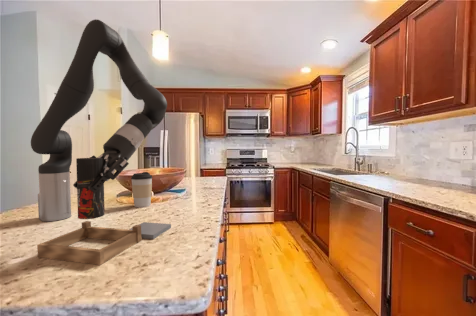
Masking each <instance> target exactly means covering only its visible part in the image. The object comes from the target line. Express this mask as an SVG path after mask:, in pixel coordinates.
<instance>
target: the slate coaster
mask: <svg viewBox="0 0 476 316" xmlns="http://www.w3.org/2000/svg"><path fill="white" fill-rule="evenodd" d="M138 225H141V239H147V240H155V239H156V238H158V237H159V236H160V235H162V234H164V233H165V232H167V231H168V230H170V229H171V228H172V224H171V223H163V222H162V223H160V222H159V223H158V222H148V221H147V222H146V221H143V222H141V223H138ZM128 230H132V228H130V229H129V228H128Z"/></svg>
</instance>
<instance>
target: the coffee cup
mask: <svg viewBox="0 0 476 316" xmlns="http://www.w3.org/2000/svg"><path fill="white" fill-rule="evenodd" d="M130 180H131V189H132V191H131V192H132V198H133V204H134V207H135V208H146V207H150V206H151V203H152V202H151V201H152V200H151V199H152V191H153V190H152V188H153V183H152V182H153V175H151V174H150V172H148V171H143V172H136V173H133V175H132V176H131V177H130Z"/></svg>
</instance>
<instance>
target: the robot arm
mask: <svg viewBox="0 0 476 316" xmlns="http://www.w3.org/2000/svg"><path fill="white" fill-rule="evenodd" d="M84 27H85V28H84V29H83V31H82V34H81V37H80V39H79V43H78V45H77V48H76V50H75V54H74V57H73V59H72V61H71V63H70V65H69V67H68V70H67V72H66V74H65V76H64V77H63V79H62V81H61V83H60V85H59V87H58V89H57V91H56V94H55V97H54V98H53V100H52V101H51V104H50V106H49V107H48V109H47V111H46V113H45V114H44V116H43V117H42V119H41V120H40V122H39V123H38V125H37V127H36V128H35V130H34V132H32V135H31V138H30V148H31V150H32V151H33V152H34V153H36V154H39V155H49V158H48V160H47V161H46V162H44V163H42V164H40V165H39V166H38V169H37V170H38V171H37V172H38V188H39V189H38V190H39V193H38V194H37V207H38V209H37V211H38V220H40V221H41V222H55V221H60V220H65V219H68V218H71V217H72V199H71V198H72V197H71V196H72V195H71V194H72V193H71V177H70V176H71V175H70V172H71V171H70V170H71V165H72V163H73V162H72V161H73V141H72V138H71V135H70V134H69V132H67V131H66V130H62V128H63V126H64V125H65V124H66V123H67V121H69V120H71V118H73V117H74V116H76V115H77V114H78V113H79V112H81V111H83V109H84V108H85V107H86V105H87V104H88V102H89V101H90V98H91V96H92V94H93V93H94V89H95V82H94V81H95V79H94V71H93V70H94V63H95V61H96V59H97V57H98V54H99V53H101V54H103V55H106V56H107V57H108V58H109V59H111V60H112V61H113V63H114V64H115V65H116V66H117V68H118V71H119V75H120V78H121V80H122V83H123V85H124V86H125V87H126V88H127V90H128V91H129V93H130V94H131V95H132V97H133V98H135V99H136V100H139V101H142V102H143V103H144V104H143V109H142V111H141V112H140V113H134V114H133V115H132V116H130V118H129V119H128V120H127V121H126V122H125V123H124V124H123V125H122V126H120V127H119V128H118V129H117V130H116V131H115V132H114V133H113V134H112V135H111V137H109V139H107V141H106V142H105V143H103V145H102V146H103V147H102V148H103V153H102V154H100V155H98V157H97V156H95V154H94V155H91V157H90V158H103V165H102V170H101V172H100V174H99V175H100V176H97V177H96V178H95V179H94V181H93V182H92V183H91V184H90V185H89V186H88V189H90V190H91V191H92V192H97V191H98V190H99V188H100V187H101V186H102V185H103V184H104V185H105V183H106V182H108V181H110V180H112V181H114V180H115V179H116V178H117V177H118V176H119V175H120V174H121V173H122V172H123V171H124V170H125V169H126V168H127V167H128V165H129V164H130V163H129V159H130V158H131V157H132V155H134V153H136V151H137V150H138V149H139V148H140V146H141V145H142V143H143V141H144V140H145V139H146V137H147V136H148V135H149V134H150V133H151V131H152V130H154V129H155V128H156V127H158V125H160V124H161V123H162V121H163V119H164V118H165V116H166V111H167V108H168V101H167V99H166V97H165V96H164V94H163V93H162V92H160V91H159V90H158V89H157V88H156V87H154V86H153V85H152V84H151V83H150V82H149V81H148V79H147V78H146V77H145V75H144V74H143V73H142V71H141V69H139V67H138V65H137V64H136V62H135V61H134V59H133V57H132V56H131V54H130V52H129V51H128V47H127V46H126V44H125V42H124V40H123V38H122V37H121V35H120V33H118V32H117V30H115V29H113V28H112V26H109V25H108V24H107V23H105V22H104V21H102V20H101V19H96V18H95V19H92V20H90V21H89V22H88V23H87V24H86V25H85V26H84ZM72 185H73V187H74V188H75V189H77V180H76V181H75V182H74V183H73V184H72Z"/></svg>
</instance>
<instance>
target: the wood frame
mask: <svg viewBox="0 0 476 316" xmlns="http://www.w3.org/2000/svg"><path fill="white" fill-rule="evenodd" d="M84 239H97V240H99V239H100V240H108V241H113V242H111V243H110V244H108V245H106V246H104V247H102V248H99V249H98V248H89V247H80V246H71V245H72V244H76V243H78V242H80V241H82V240H84ZM142 241H143V240H142V238H141V225H139V224H135V225H133V226H132V230H129V228H128V229H125V228H114V227H113V228H112V227H102V226H100V227H99V226H92V223H91V221H89V220H87V221H86V220H85V221H83V222H81V227H80V228H78V229H76V230H72V231H71V232H67V233H64V234H63V235H59V236H57V237H54V238H52V239H48V240H47V241H46V240H45V241H43V242H40V243H39V244H36V245H37V258H42V259H51V260H58V261H66V262H67V261H68V262H75V263H82V264H90V265H99V266H101V265H103V264H105V263H106V262H109V261H110V260H112V259H113V258H114V257H116V256H118V255H120V254H121V253H123V252H124V251H126V250H127V249H129V248H130V247H133V246H134V245H135V244H138V243H140V242H142Z"/></svg>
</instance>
